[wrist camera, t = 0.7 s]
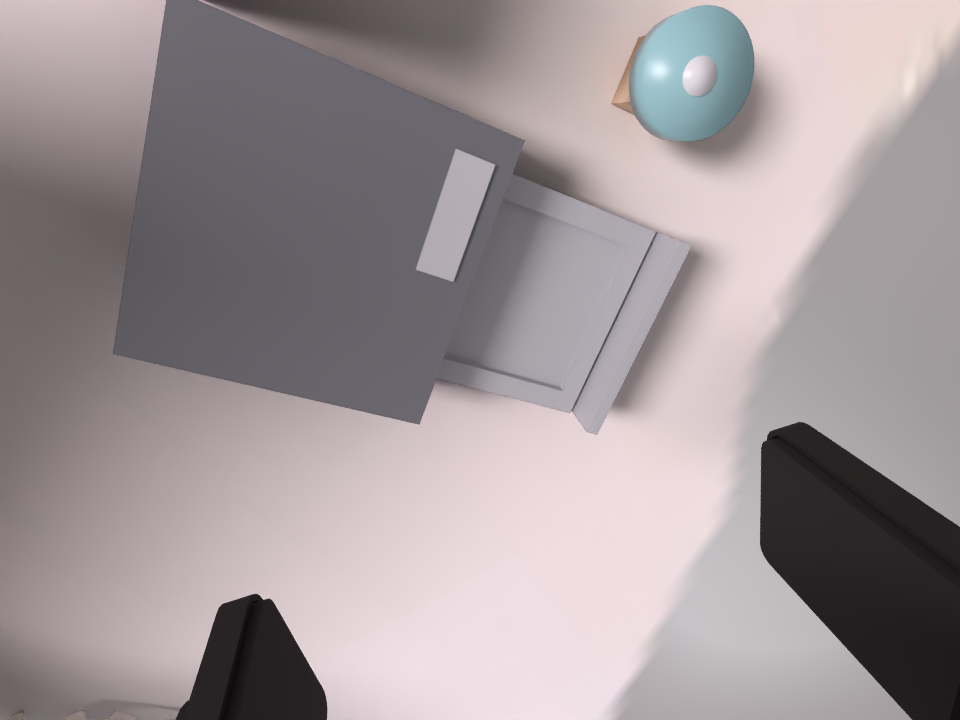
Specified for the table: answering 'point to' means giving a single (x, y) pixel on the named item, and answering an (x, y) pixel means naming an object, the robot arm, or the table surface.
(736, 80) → the dome with round knob
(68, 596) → the table surface
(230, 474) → the table surface
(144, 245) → the box
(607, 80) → the table surface
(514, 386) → the tray
